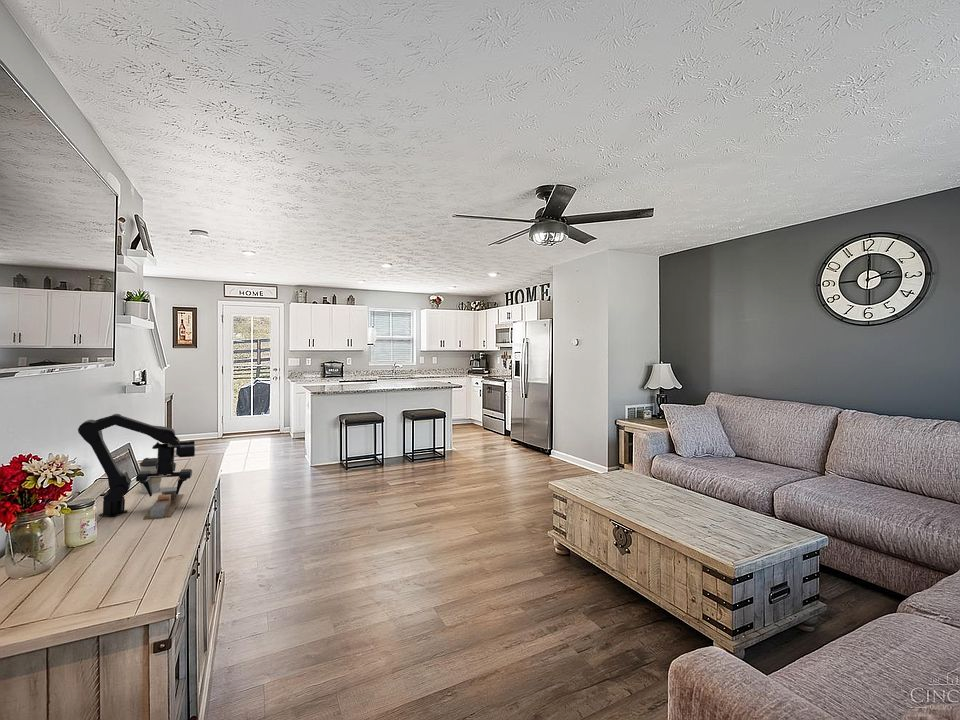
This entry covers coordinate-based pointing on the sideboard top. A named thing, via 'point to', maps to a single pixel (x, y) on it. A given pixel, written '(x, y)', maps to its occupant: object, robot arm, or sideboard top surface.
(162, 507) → the tube base
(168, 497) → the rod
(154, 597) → the sideboard top surface
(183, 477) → the robot arm
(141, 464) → the coffee cup
